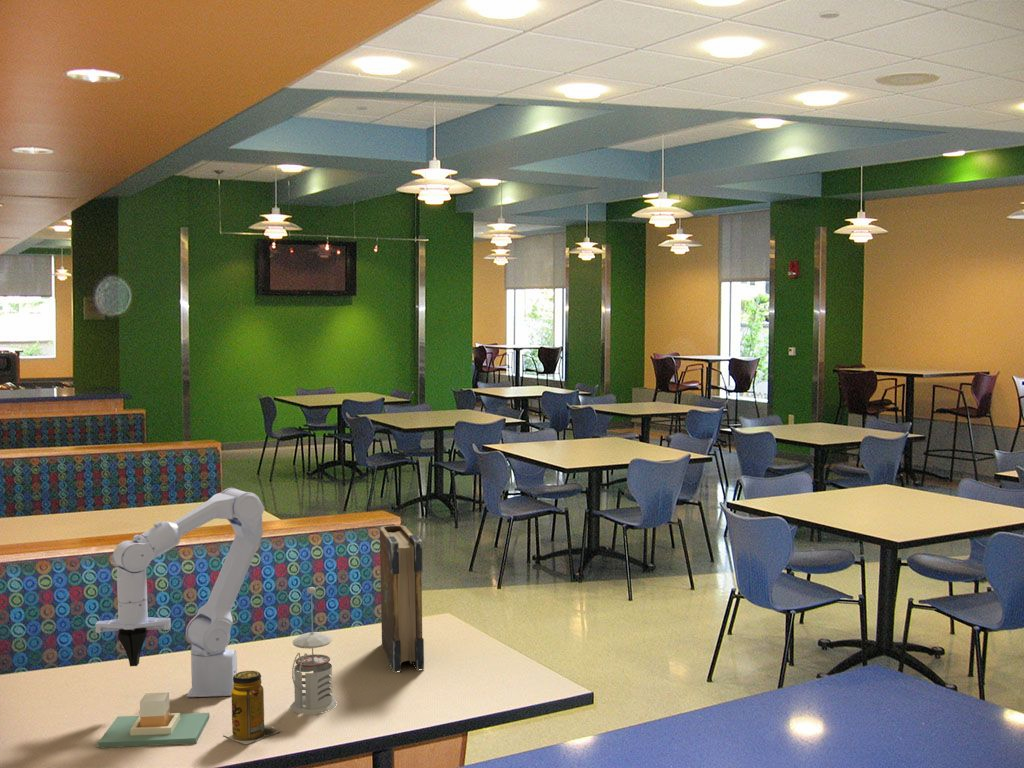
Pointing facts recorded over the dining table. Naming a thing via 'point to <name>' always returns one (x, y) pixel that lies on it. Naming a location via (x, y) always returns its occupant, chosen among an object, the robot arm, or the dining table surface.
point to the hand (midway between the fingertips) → (134, 664)
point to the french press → (312, 674)
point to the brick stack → (155, 710)
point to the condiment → (248, 709)
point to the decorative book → (401, 596)
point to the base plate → (154, 731)
